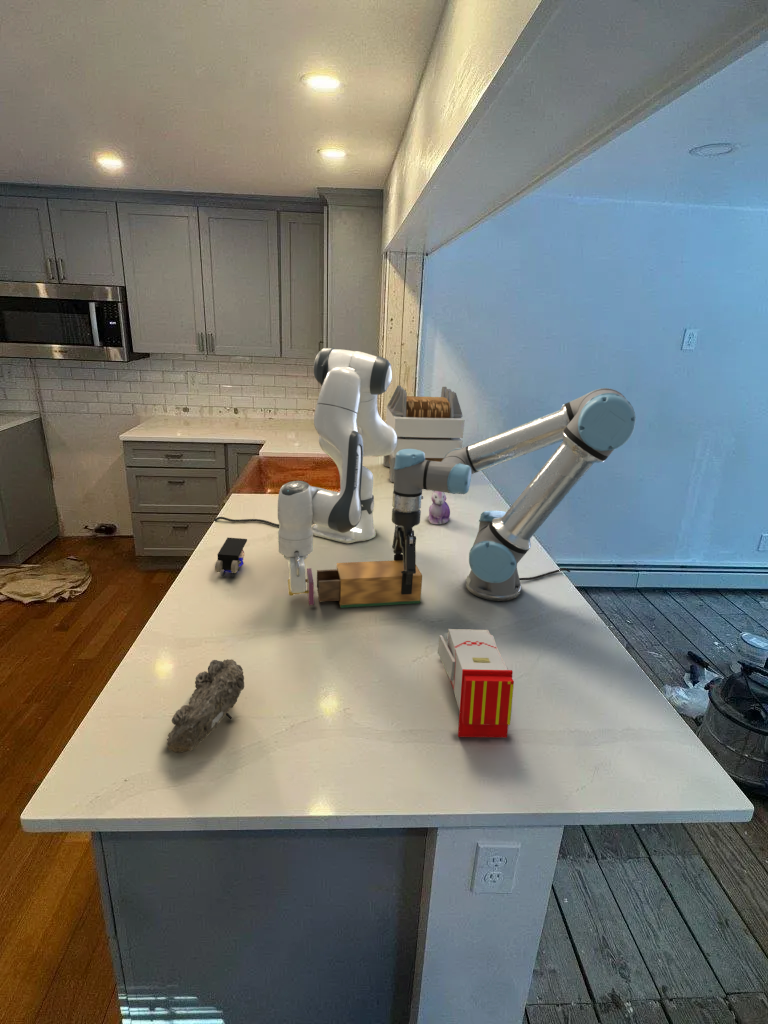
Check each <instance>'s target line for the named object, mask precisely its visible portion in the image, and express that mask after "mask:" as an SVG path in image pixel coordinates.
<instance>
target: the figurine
mask: <svg viewBox="0 0 768 1024" xmlns="http://www.w3.org/2000/svg"><path fill="white" fill-rule="evenodd" d="M445 493H446V492H439V491H432V494H431V498H430V499H431V502H432V503H431V505H429V507H428V517H427V518H428V519H427V520H428V521H429V523H430V524H433V525H442V524H447V523H448V522H449V520H450V516H451V509H450V506H449V504H448V503H447V496H446V494H445Z"/></svg>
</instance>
